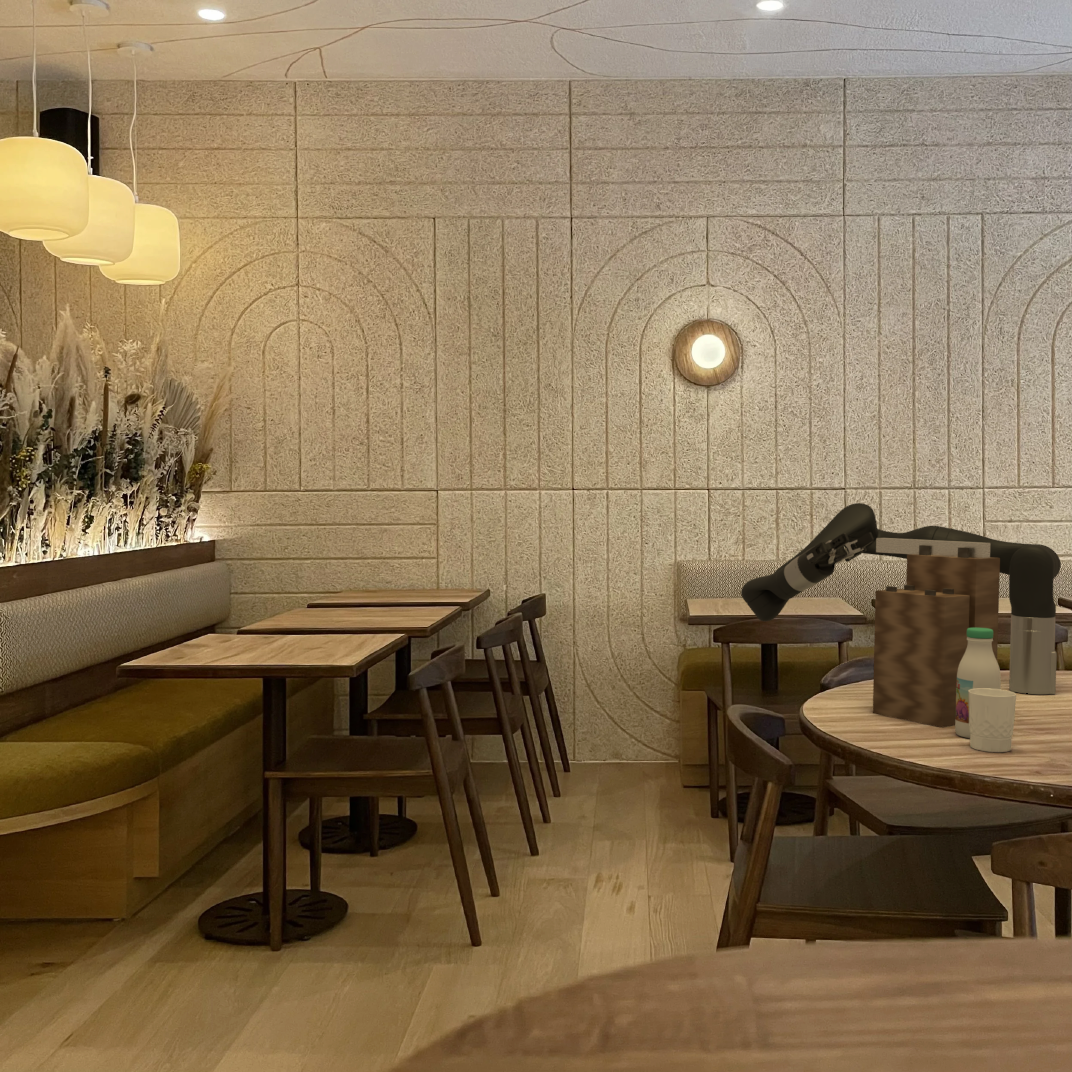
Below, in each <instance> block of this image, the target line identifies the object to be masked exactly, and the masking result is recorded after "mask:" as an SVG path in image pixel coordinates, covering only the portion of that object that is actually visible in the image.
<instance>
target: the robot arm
mask: <svg viewBox="0 0 1072 1072" xmlns="http://www.w3.org/2000/svg"><path fill="white" fill-rule="evenodd" d="M877 525H878V524H877V519H876V514H875V512H874V509H873V508H872V507H871V506H870V505H868V504H865V503H863V502H861V503H860V502H857V503H856V502H855V503H851V504H849V505H847V506H845V507H843V508H842V509H841V510H840V511H839V512H837V514H836V515H835V516H834V517H832V519H831V520H830V521H829V522H828V523H827V524H826V525H825V526H824V527H823V529H822V530H821V531H820V532H819V533H818V534H817V535H816V536H815V537H814V538H813V539H812V540H811V541H810V542H809V543H808V544H807V545H806V546H805V547H804V548H803V549H802V550H801V551H799V552H798V553H797V554H795V556H793V557H792V558H790V559H789V560H788V561H787V562H785V563H784V564H783V565H782V564H781V566H780V567H778V568H777V569H776V570H775V571H774V572H773V573H771V574H767V575H764V576H758V577H756V578H753V579H751V580H748V581H747V582H745V584H744V585H742V587H741V592H740V594H741V597H742V600H744V602H745V603H746V605H747V606H748V607H749V608H750V610H751V611H752V613H753V614H754V615H755V617H756V618H757V619H758V620H759V621H761V622H770V621H772V620H774V619H776V618H777V617H778V616H779V614H780V613H781V612H782V610H783V609H784V607H785V606H786V604H787V603H788V602H789V600H792V599H793V598H794V597H796V596H797V595H799V594H800V593H802V592H804V591H806V590H809V589H810V588H812V587H814V586H816V585H818V584H819V583H820V582H822V581H824V580H825V579H827V578H828V577H830V576H831V575H832V574H834V571H835V567H836V564H837V565H838V564H840V563H842V562H843V561H845V562H846V563H848V562H850V561H852V560H853V559H855V558H857V557H858V556H860V555H862V554H865V555H866V554H867V555H874V556H885V557H892V558H893V557H894V558H900V559H905V560H907V555H910V554H898V553H880V552H876V538H897V539H918V540H940V541H961V542H982V543H990V557H993V558H1000V574H1005V575H1008V576H1009V577H1008V581H1009V583H1008V587H1009V588H1008V590H1009V592H1008V597H1009V599H1008V600H1009V604H1010V608H1011V609H1010V610H1011V611H1010V642H1009V643H1010V645H1009V678H1008V684H1009V685H1008V687H1009V688H1008V689H1009V690H1008V691H1011V692H1014V693H1019V694H1020V693H1021V694H1026V693H1028V694H1027V695H1055V694H1056V687H1057V686H1056V685H1057V658H1058V657H1057V651H1056V649H1055V647H1056V615H1057V614H1056V613H1057V612H1056V611H1057V606H1056V604H1055V600H1054V579H1055V578H1056V577H1057V576H1058V574H1059V573H1060V570H1061V567H1062V565H1061V564H1062V562H1061V560H1060V557H1059V554H1057V552H1056V551H1055V550H1054V549H1052V548H1051V547H1049V546H1047V545H1045V544H1039V543H1038V544H1037V543H1036V544H1033V543H1019V542H1011V541H1003V540H999V539H994V538H991V537H987V536H984V535H980V534H975V533H973V532H968V531H964V530H960V529H955V528H951V527H946V526H945V527H944V526H939V525H927V526H926V525H925V526H923V527H918V528H915V529H913V530H909V531H906V532H893V531H888V530H882V529H880V528H878V526H877Z"/></svg>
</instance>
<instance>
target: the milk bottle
mask: <svg viewBox="0 0 1072 1072" xmlns="http://www.w3.org/2000/svg"><path fill="white" fill-rule="evenodd" d="M967 640H968V645H967V648H966V651H965V654H964V656H963V658H962V660H961V662H960V664H959V667H958V672H957V683H956V713H955V725H954V730H955V731H954V732H955V734H956V735H957V736H959V737H961V738H967V739H970V731H969V705H968V690H970V689H976V688H990V689H1001V690H1002V685H1001V684H1002V682H1001V681H1002V679H1001V678H1002V677H1001V670H1000V666H999V663H998V659H997V660H996V658H995V656H994V653H993V650H992V641H993V630H992V629H989V628H968V629H967Z"/></svg>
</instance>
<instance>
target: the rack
mask: <svg viewBox="0 0 1072 1072" xmlns="http://www.w3.org/2000/svg"><path fill="white" fill-rule="evenodd" d="M1000 574H1001V573H1000V558H993V557H990V558H969V548H962V547H958V557H949V556H932V555H930V546H927V545H919V555H915V554H910V555H907V559H906V583H905V584H904V585H903V588H898V587H897V586H889V585H888V586H886V587H885V589H881V590H875V593H874V594H875V595H874V596H875V597H874V602H875V603H874V605H875V606H874V608H875V609H874V643H873V644H874V645H873V647H874V649H873V650H874V651H873V682H872V683H873V686H872V687H873V691H872V714H875V715H878V716H883V717H889V718H893V719H899V720H903V721H908V722H913V723H918V724H923V725H928V726H933V727H937V728H938V727H939V728H945V727H950V726H955V713H956V683H957V672H958V667H959V664H960V662H961V660H962V658H963V656H964V654H965V651H966V648H967V645H968V640H967V629H968V628H989V629H992V630H993V641H992V650H993V653H994V656H995V658H996V660H997V661H998V645H999V643H998V641H999V638H998V637H999V636H998V635H999V607H1000V606H999V605H1000V604H999V601H1000Z"/></svg>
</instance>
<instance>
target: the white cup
mask: <svg viewBox="0 0 1072 1072" xmlns="http://www.w3.org/2000/svg"><path fill="white" fill-rule="evenodd" d="M1016 702H1017V692H1014V691H1011V690H1006V689H1002V688H1001V689H990V688H976V689H970V690H968V705H969V731H970V738H969V740H970V742H969V743H970V746H969V747H970V748H971V749H974V750H977V751H981V752H987V753H1008V752H1010V751H1012V738H1013V735H1014V726H1015V716H1016V715H1015V714H1016V706H1017V705H1016Z"/></svg>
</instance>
